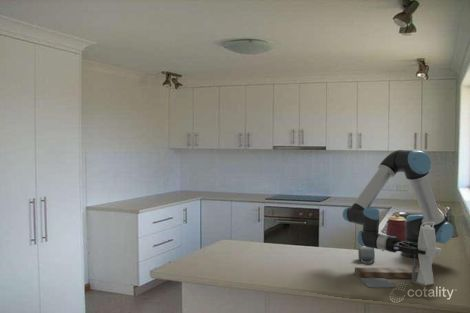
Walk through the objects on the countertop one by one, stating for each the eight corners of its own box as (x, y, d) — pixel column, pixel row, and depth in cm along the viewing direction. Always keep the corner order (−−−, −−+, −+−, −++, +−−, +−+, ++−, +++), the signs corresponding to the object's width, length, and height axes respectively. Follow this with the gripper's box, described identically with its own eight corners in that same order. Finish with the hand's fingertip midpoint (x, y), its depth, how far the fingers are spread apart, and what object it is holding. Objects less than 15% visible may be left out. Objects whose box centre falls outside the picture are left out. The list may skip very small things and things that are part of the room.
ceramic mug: (357, 258, 247) (358, 244, 247) (373, 259, 246) (373, 245, 245) (359, 264, 237) (359, 249, 236) (375, 265, 235) (376, 250, 235)
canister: (382, 238, 301) (383, 212, 301) (399, 238, 304) (400, 211, 303) (392, 242, 289) (393, 215, 288) (410, 242, 291) (411, 215, 290)
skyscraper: (423, 279, 211) (425, 220, 210) (438, 284, 204) (441, 223, 203) (410, 282, 207) (413, 221, 206) (425, 287, 200) (428, 224, 199)
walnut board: (418, 273, 222) (418, 267, 222) (426, 278, 214) (426, 272, 214) (354, 272, 220) (354, 267, 220) (360, 277, 212) (360, 272, 212)
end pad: (384, 279, 211) (384, 278, 211) (395, 287, 199) (395, 286, 199) (359, 278, 210) (359, 278, 210) (368, 287, 198) (368, 286, 198)
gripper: (397, 248, 225) (445, 257, 209) (378, 254, 212) (427, 264, 195) (398, 233, 225) (446, 241, 208) (378, 238, 212) (428, 247, 195)
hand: (437, 252), depth 202 cm, fingers open, 6 cm apart
